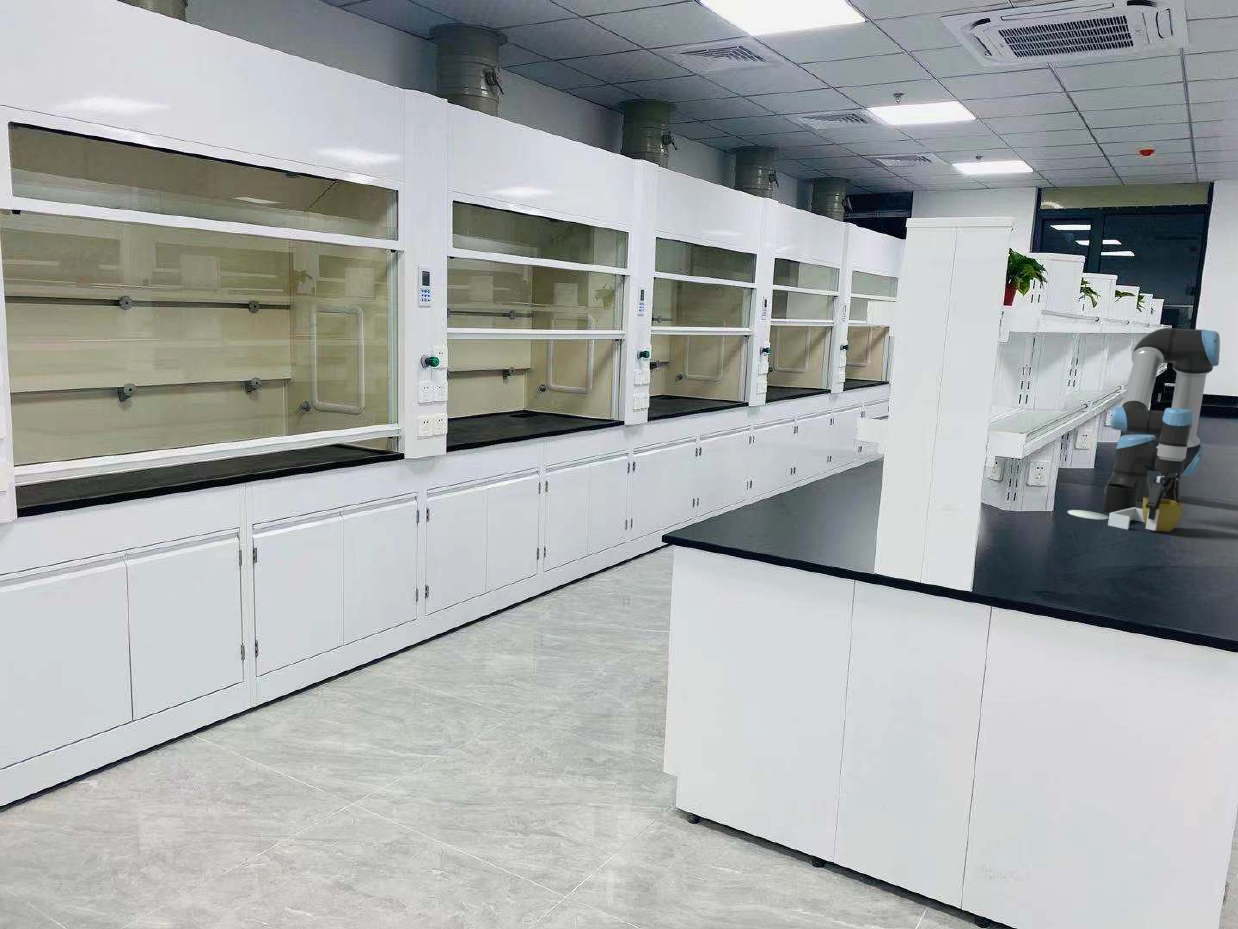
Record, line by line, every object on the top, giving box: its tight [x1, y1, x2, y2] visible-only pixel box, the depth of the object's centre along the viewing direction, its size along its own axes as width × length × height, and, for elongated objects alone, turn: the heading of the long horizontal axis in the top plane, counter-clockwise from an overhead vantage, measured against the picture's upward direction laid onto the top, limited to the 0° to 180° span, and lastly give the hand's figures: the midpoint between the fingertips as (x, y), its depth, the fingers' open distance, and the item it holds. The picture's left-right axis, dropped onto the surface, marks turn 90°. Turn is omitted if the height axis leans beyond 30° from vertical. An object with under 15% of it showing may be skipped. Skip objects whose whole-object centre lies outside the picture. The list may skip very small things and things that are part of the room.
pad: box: [1067, 509, 1109, 521], centre depth 293 cm, size 12×12×1 cm
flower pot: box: [1142, 498, 1184, 533], centre depth 277 cm, size 9×9×9 cm
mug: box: [1102, 484, 1139, 514], centre depth 300 cm, size 9×12×9 cm
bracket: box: [1107, 507, 1145, 530], centre depth 283 cm, size 18×6×4 cm, turn 129°
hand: (1158, 527), depth 277 cm, fingers closed on flower pot, 12 cm apart
